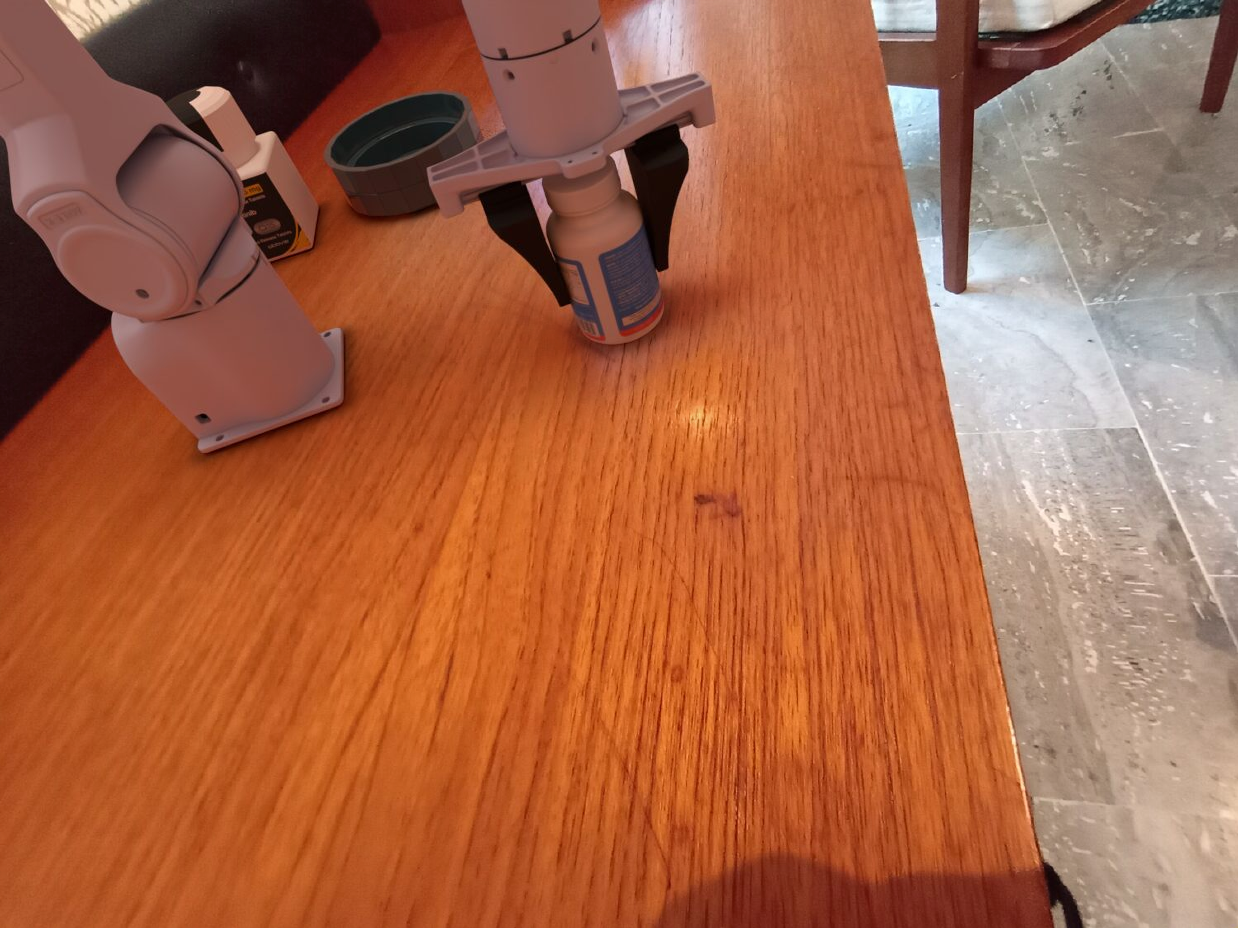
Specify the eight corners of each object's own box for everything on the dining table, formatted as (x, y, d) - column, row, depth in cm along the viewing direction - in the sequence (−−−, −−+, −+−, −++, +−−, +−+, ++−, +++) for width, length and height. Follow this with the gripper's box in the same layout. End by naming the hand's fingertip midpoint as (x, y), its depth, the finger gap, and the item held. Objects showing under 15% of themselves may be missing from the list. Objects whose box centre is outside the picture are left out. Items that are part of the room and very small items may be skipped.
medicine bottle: (232, 275, 60) (126, 135, 51) (245, 232, 65) (150, 96, 56) (314, 249, 60) (222, 102, 51) (320, 207, 65) (237, 66, 56)
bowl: (351, 239, 59) (322, 189, 56) (350, 171, 68) (325, 124, 65) (500, 186, 59) (479, 133, 56) (480, 125, 68) (461, 75, 65)
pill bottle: (667, 285, 46) (636, 136, 39) (662, 342, 43) (626, 190, 35) (584, 295, 47) (538, 153, 40) (573, 352, 44) (520, 207, 37)
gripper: (390, 120, 30) (503, 362, 40) (722, 1, 30) (751, 273, 40) (383, 62, 35) (486, 292, 45) (671, -40, 35) (708, 213, 45)
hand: (609, 279), depth 43 cm, fingers closed on pill bottle, 5 cm apart
